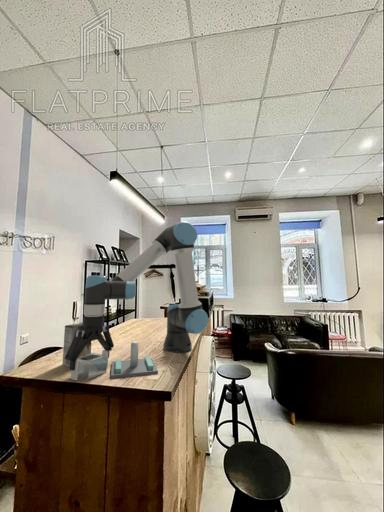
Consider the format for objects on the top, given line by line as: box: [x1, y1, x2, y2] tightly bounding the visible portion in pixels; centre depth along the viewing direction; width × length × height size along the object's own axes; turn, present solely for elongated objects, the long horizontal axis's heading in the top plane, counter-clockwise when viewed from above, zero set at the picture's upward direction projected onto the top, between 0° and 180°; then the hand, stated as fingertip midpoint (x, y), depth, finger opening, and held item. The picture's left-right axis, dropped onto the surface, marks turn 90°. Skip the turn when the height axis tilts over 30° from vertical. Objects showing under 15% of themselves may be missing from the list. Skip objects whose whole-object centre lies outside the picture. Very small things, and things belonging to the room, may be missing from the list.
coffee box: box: [61, 322, 92, 368], centre depth 99 cm, size 9×6×16 cm
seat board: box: [110, 341, 159, 379], centre depth 93 cm, size 17×16×10 cm
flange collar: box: [77, 352, 107, 380], centre depth 87 cm, size 8×8×6 cm
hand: (90, 373), depth 87 cm, fingers open, 13 cm apart
